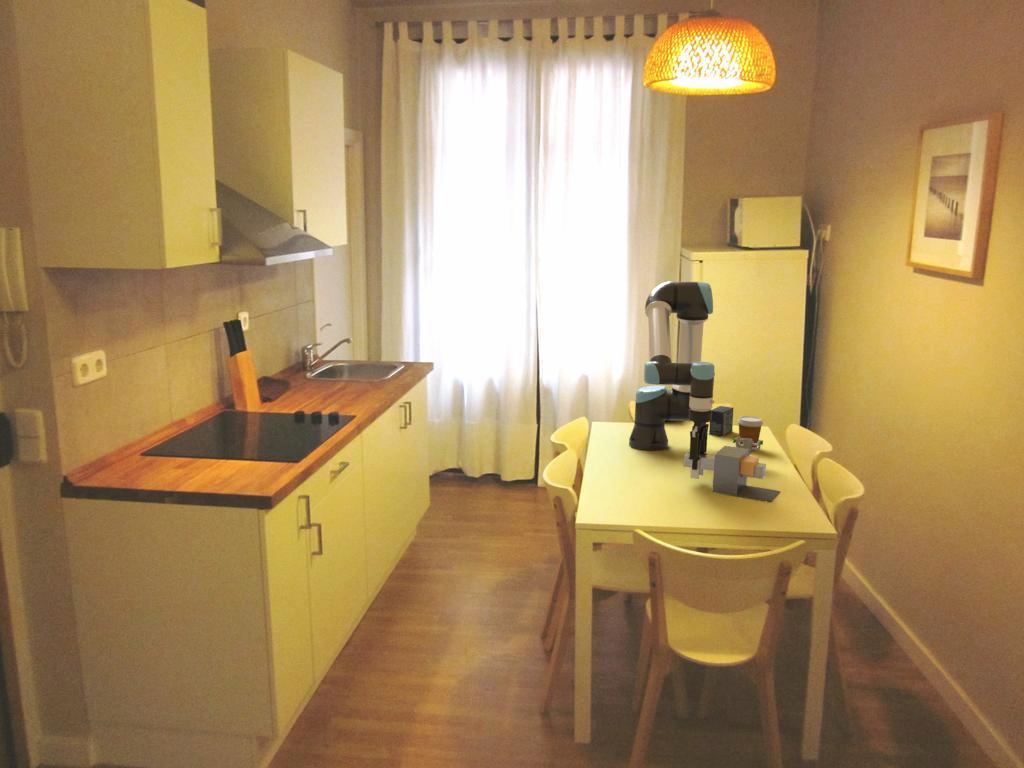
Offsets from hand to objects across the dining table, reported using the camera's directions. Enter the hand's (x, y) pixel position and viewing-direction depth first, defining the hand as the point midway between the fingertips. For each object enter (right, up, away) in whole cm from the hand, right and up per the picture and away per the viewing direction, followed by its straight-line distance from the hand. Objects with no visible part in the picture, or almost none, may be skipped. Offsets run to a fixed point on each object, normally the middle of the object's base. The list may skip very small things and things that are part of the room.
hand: (696, 476), depth 286 cm
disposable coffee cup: (+30, +6, +44) cm, 53 cm away
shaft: (+8, +2, -5) cm, 10 cm away
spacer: (+15, +2, -9) cm, 18 cm away
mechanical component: (+23, +1, +22) cm, 32 cm away
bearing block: (+10, -4, -5) cm, 12 cm away
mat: (+18, -5, -9) cm, 20 cm away
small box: (+24, +10, +67) cm, 72 cm away
